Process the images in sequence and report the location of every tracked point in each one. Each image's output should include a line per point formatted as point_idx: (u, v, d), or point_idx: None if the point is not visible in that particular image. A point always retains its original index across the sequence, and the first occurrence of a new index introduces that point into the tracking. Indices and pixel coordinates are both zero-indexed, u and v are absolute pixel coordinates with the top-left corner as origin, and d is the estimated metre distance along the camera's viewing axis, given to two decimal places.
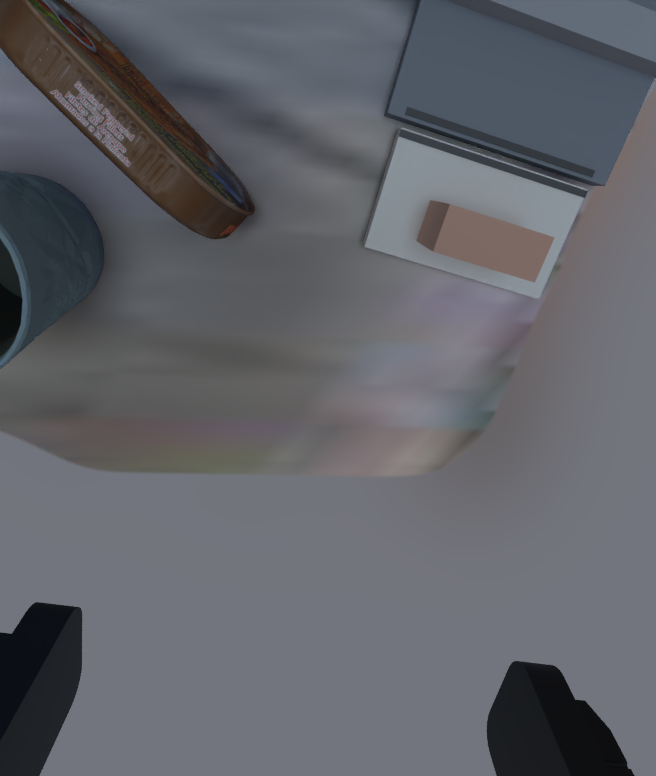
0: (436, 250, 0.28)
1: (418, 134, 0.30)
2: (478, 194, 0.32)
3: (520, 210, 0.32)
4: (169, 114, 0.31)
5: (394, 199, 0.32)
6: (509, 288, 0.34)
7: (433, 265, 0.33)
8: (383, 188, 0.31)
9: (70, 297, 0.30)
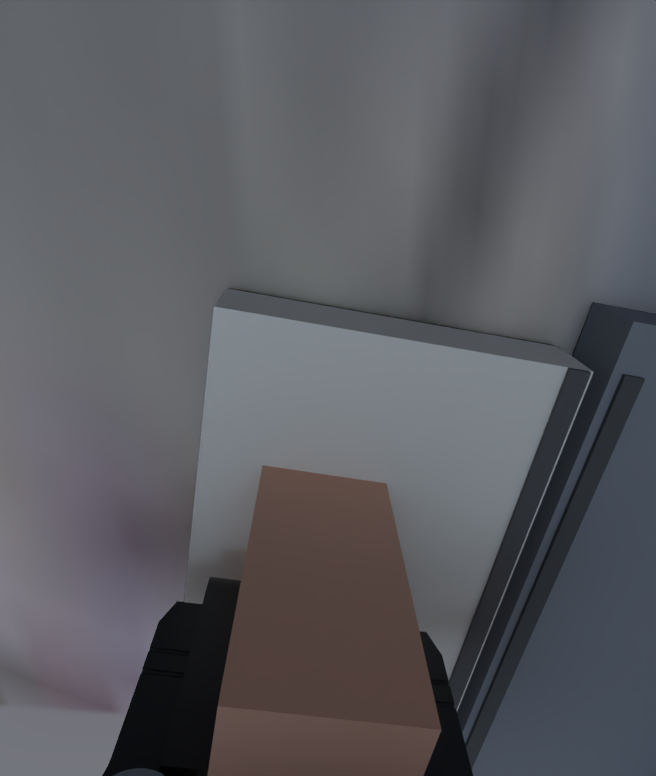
0: (225, 718, 0.06)
1: (570, 423, 0.10)
2: None
3: None
4: None
5: (380, 382, 0.10)
6: None
7: (198, 522, 0.11)
8: (412, 343, 0.09)
9: None
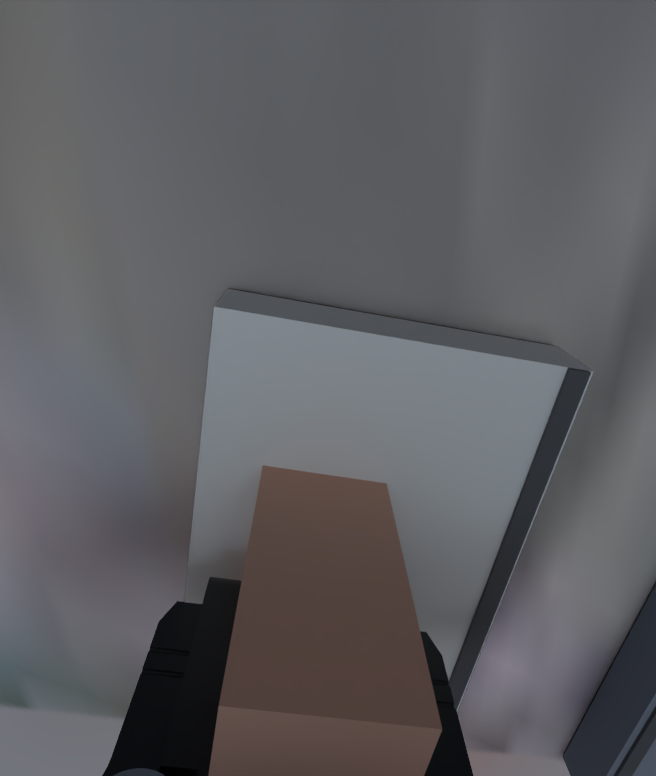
0: (226, 718, 0.06)
1: (569, 423, 0.10)
2: None
3: None
4: None
5: (381, 383, 0.10)
6: None
7: (198, 522, 0.11)
8: (412, 343, 0.09)
9: None
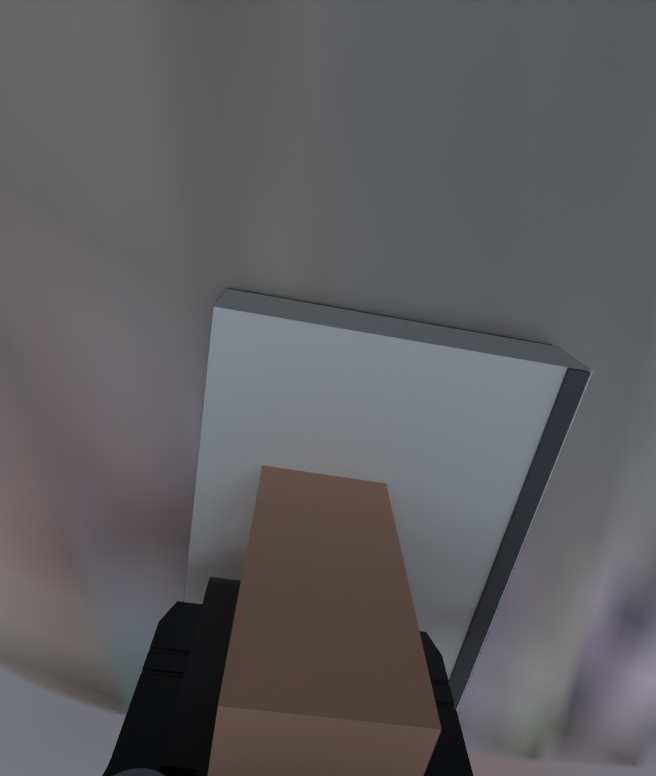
0: (225, 718, 0.06)
1: (569, 423, 0.10)
2: None
3: None
4: None
5: (380, 383, 0.10)
6: None
7: (197, 522, 0.11)
8: (412, 343, 0.09)
9: None
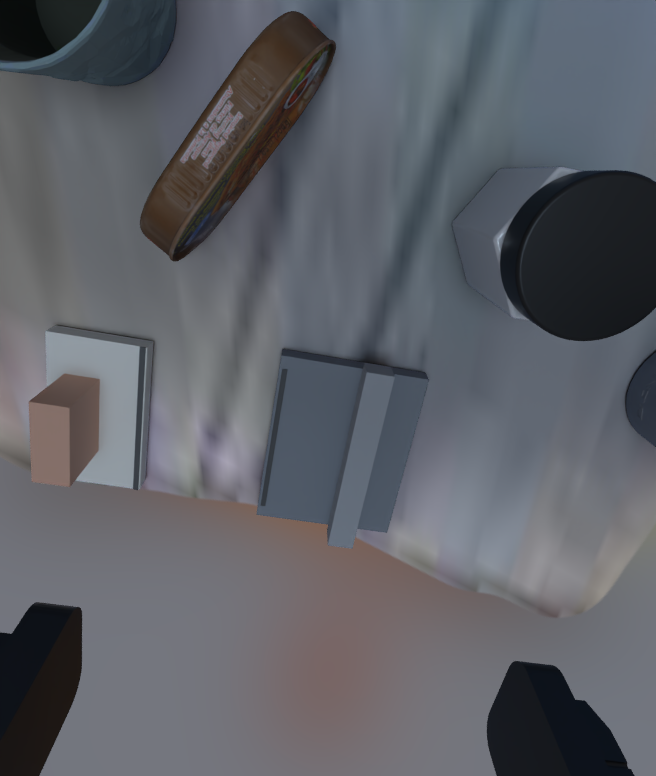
0: (30, 404, 0.33)
1: (145, 361, 0.37)
2: (114, 414, 0.39)
3: (111, 447, 0.40)
4: (255, 164, 0.34)
5: (91, 350, 0.37)
6: None
7: None
8: (97, 340, 0.37)
9: None
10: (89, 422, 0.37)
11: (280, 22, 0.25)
